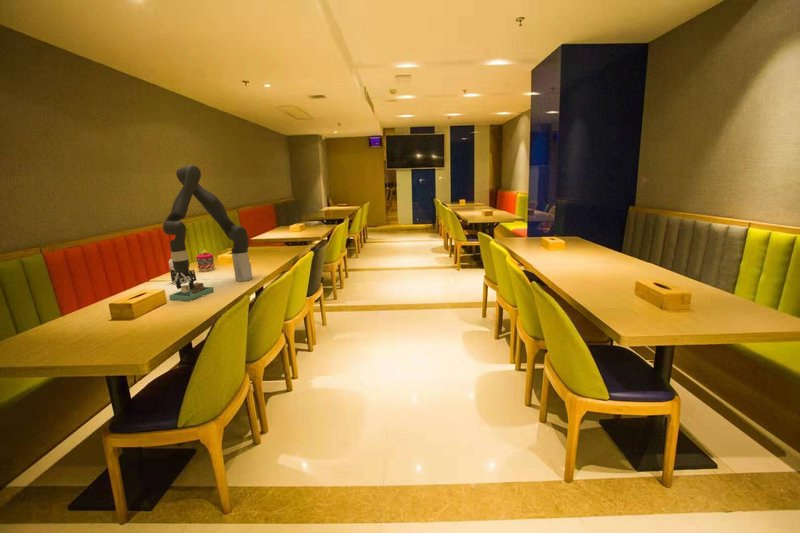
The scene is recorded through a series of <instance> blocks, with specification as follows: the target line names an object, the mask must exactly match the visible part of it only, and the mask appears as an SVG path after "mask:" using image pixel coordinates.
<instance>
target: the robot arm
mask: <svg viewBox="0 0 800 533" xmlns="http://www.w3.org/2000/svg"><path fill="white" fill-rule="evenodd" d="M175 175H176V178H177V180H178V181H179V183H180V184H182V185H183V186H182V188H181V189H180V191H179V193H178V194H177V196H176V197H175V199H174V200H173V203H172V207H171V210H170V213H169V214H168V216H167V217H166V219H165V220H164V222H163V226H162V230H163V232H164V234H166V235H168V236H174V238H173V239H172V240H170V241H169V247H170V254H171V255H170V256H171V259H172V263H173V268H174V269H173V270H171V271H170V270H169V273H170V272H171V274H170V277H171V278H170V279H171V282H172V281H175V282H176V284H175V287H176V288H177V290H181V286H182V283H181V282H180V279H181V278H185V279H186V280H187V281H186V282H188V285H189V287H190V290H192V289H194V282H196V281H197V275H196V271H195V269H191V270H190V268H189V267H190V259H189V255H188V252H187V247H186V235H187V227H186V225H185V222H183V221H181V220H184V219H185V218H186V216H187V213H188V209H189V205H190V202H191V200H192V196H194V197H195V199H196V200H197V201H198V202H199V203H200V204H201V205H202V207H203V208H204V209H205V210H206V212H207V213H208V214H209V215H210V216H211V218H212V219H213V220H214V221H215V222H216V223H217V224H218V225H219V226H220V228H221V230H222V231H223V232H224V234H225V235H226V237H227V239H229V240H231V241H233V247H232V248H230V251H231V256H232V263H233V264H232V266H233V270H234V278H235V281H236V282H246V281H251V280H252V279H253V272H252V264H251V263H250V256H249V236H248V235H249V234H248V231H247V229H246V228H245V226H242V225H241V226H239V225H236V224H235V223H234V222H233V221H232V220H231V218H230V217H229V215H228V213H227V209H226V207H225V205H224V204H223V202H222V201H221V200H220V199H219V197H218V196H216V195H215V194H214V193H212V192H210V191H209V190H207V189H205V188H204V187H203V186H202V185H200V183H199V182H200V180H201V179H202V178H201V177H202V173H201V169H200V168H199V167H198V166H197V165H195V164H189V165H188V164H187V165H185V166H182V167H179V168H178V169H177V170H176V172H175ZM176 274H177V275H176Z"/></svg>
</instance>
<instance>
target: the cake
mask: <svg viewBox="0 0 800 533" xmlns="http://www.w3.org/2000/svg"><path fill="white" fill-rule="evenodd" d="M195 258H196V262H197V268H198V272H199V273H209V272H213V271H215V263H214V261H215V260H214V256H213V253H211V251H208V250H207V248H204V249H202V248H199V250H198V254H197V255H196V256H195Z"/></svg>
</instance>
